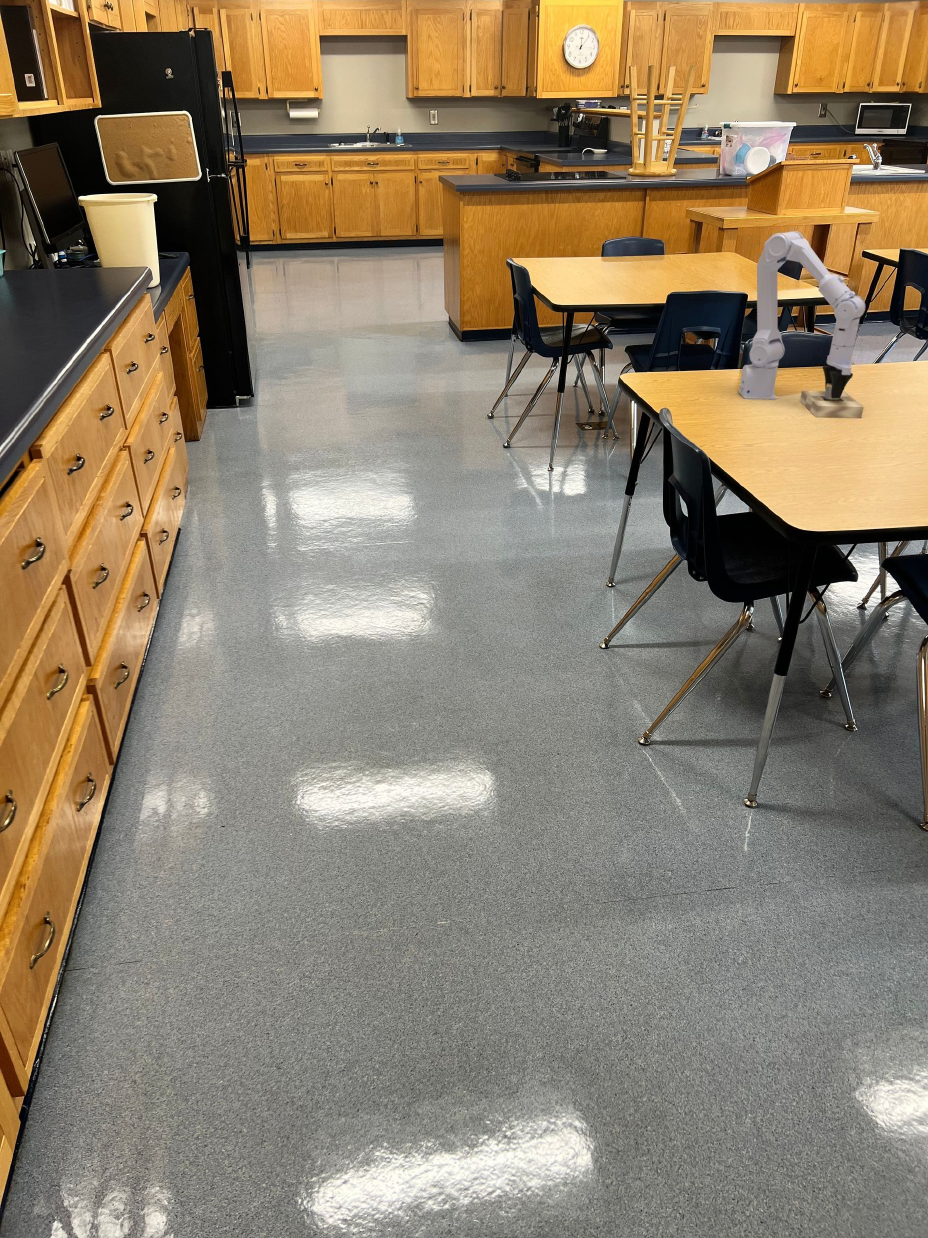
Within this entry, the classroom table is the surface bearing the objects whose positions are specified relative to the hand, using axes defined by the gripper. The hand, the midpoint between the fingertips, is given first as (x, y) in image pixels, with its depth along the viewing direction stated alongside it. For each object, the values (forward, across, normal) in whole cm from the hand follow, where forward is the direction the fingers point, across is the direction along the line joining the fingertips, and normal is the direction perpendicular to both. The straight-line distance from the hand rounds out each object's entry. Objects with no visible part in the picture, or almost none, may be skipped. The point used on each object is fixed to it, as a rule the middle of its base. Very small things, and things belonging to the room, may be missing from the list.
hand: (832, 395), depth 247 cm
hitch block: (+4, 0, 0) cm, 4 cm away
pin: (+4, 0, 0) cm, 4 cm away
